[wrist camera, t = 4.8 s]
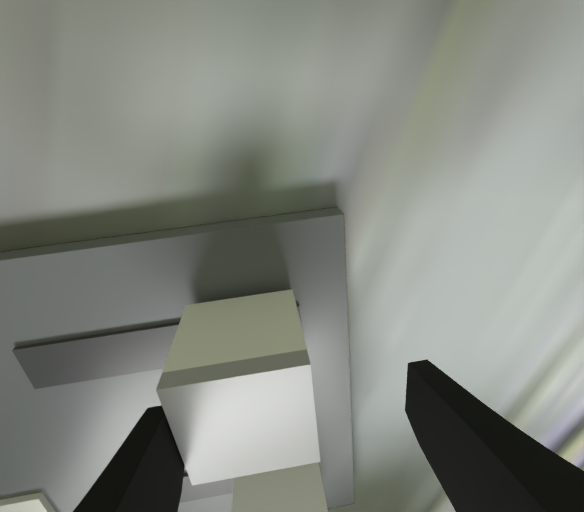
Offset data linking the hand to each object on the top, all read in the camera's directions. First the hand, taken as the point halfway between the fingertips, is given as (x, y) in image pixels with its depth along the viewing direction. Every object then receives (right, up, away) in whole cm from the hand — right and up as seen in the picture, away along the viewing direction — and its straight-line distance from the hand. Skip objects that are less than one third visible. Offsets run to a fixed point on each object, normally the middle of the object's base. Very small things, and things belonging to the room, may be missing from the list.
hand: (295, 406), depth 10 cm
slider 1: (-2, +1, +3) cm, 4 cm away
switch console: (-6, -3, +6) cm, 9 cm away
